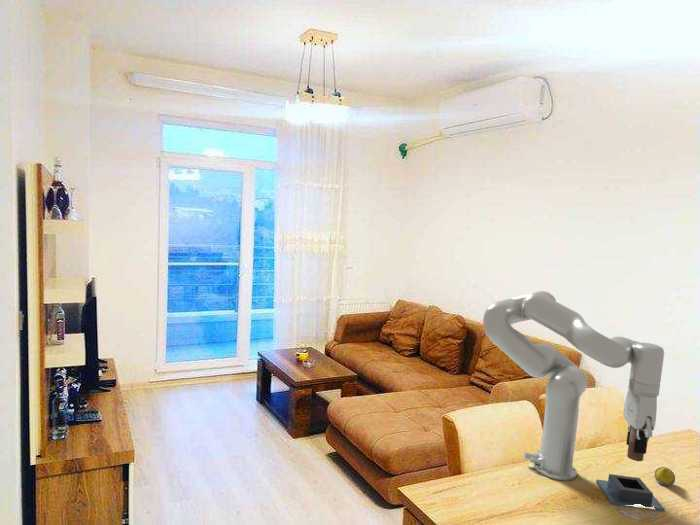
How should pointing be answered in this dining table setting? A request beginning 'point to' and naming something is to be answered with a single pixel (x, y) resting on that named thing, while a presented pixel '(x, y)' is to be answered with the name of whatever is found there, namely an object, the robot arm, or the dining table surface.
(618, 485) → the grey square peg hole
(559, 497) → the dining table surface
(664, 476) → the yellow grooved cone part
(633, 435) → the walnut rod
